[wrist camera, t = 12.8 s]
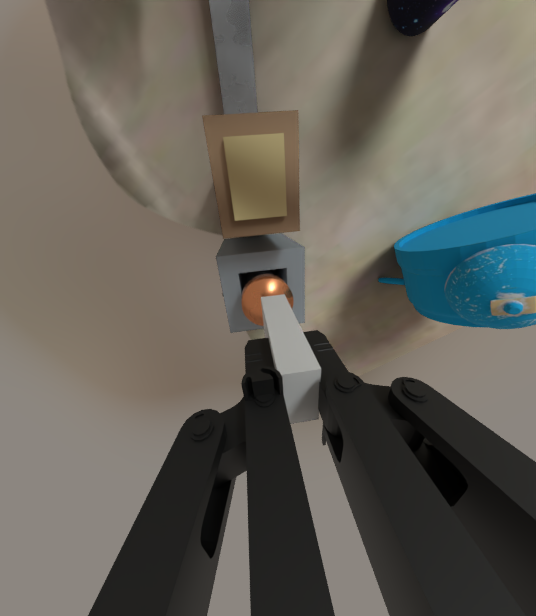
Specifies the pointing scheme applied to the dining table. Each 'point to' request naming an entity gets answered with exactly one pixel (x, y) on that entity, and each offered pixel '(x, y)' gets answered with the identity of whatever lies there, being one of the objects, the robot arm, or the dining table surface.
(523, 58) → the dining table surface
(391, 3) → the beverage can
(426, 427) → the robot arm
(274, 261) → the grey boxy piece
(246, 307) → the gauge plunger
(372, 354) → the dining table surface
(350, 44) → the dining table surface
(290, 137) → the carriage
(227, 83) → the rail
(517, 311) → the alarm clock
